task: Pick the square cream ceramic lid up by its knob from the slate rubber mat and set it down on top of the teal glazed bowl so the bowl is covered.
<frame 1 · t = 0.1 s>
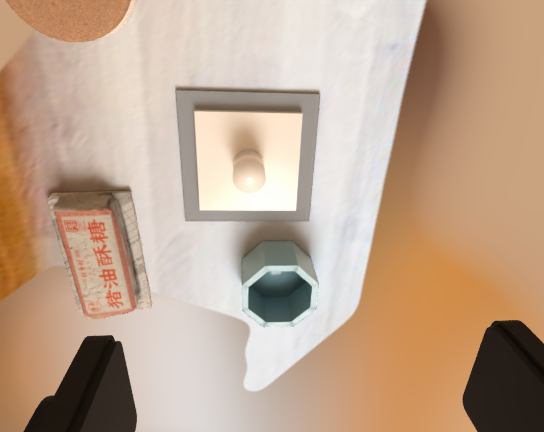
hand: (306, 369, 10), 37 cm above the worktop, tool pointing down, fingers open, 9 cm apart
bowl: (276, 270, 52), on the worktop
mat: (248, 160, 45), on the worktop
lid: (248, 161, 45), resting on mat
packaged product: (106, 250, 50), on the worktop
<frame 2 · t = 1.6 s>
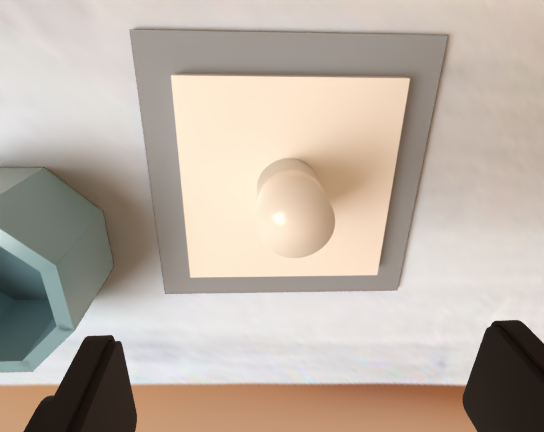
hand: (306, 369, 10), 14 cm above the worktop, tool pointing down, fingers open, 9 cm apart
bowl: (30, 240, 23), on the worktop
mat: (286, 180, 22), on the worktop
lid: (286, 182, 22), resting on mat
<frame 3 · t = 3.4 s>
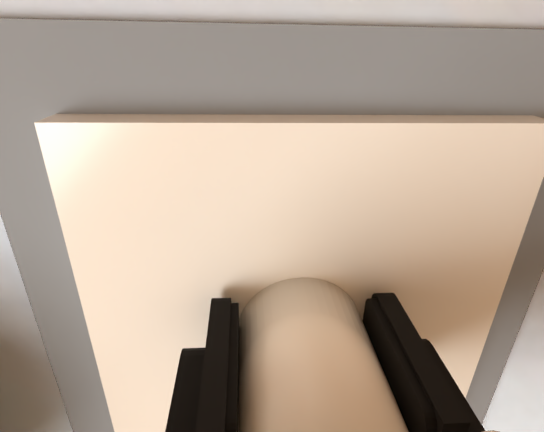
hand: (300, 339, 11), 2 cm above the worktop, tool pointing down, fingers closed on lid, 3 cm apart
mat: (293, 297, 12), on the worktop
lid: (294, 305, 12), resting on mat, touching gripper
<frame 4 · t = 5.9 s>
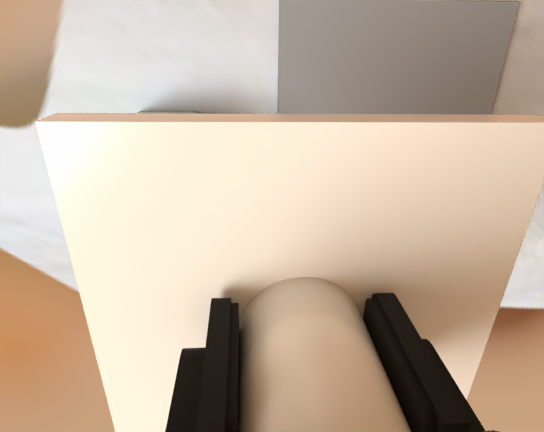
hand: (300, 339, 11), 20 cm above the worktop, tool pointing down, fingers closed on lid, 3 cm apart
mat: (382, 122, 28), on the worktop
lid: (295, 305, 12), point 19 cm above the worktop, touching gripper
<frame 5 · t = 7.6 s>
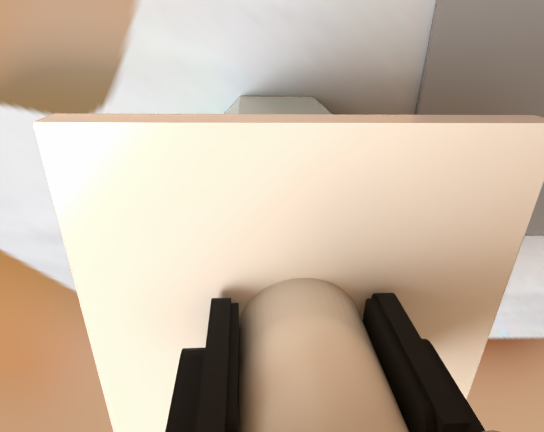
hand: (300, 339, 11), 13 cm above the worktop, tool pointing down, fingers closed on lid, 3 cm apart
bowl: (275, 178, 22), on the worktop
lid: (294, 306, 12), point 12 cm above the worktop, touching gripper
when the fingers open (9 cm above the worktop, at t = 8.7 s): lid drops 1 cm, resting on bowl.
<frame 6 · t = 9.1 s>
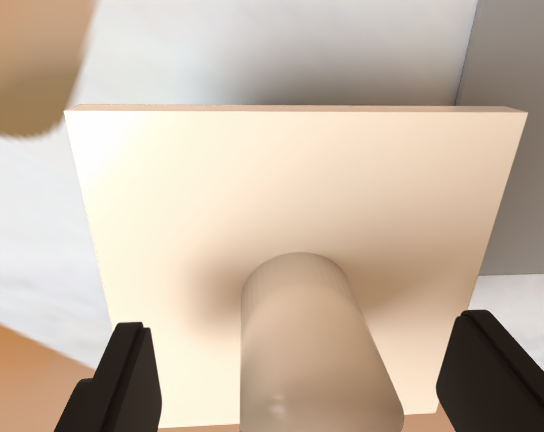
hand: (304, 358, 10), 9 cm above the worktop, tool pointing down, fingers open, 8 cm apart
lid: (292, 281, 13), point 6 cm above the worktop, touching bowl
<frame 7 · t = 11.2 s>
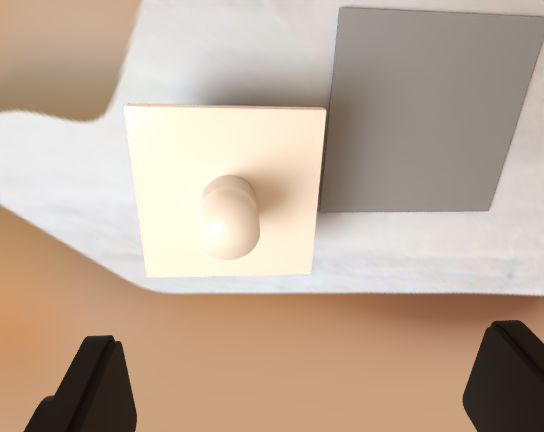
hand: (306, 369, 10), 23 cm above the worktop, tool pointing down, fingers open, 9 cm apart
mat: (422, 122, 31), on the worktop
lid: (229, 194, 26), point 6 cm above the worktop, touching bowl
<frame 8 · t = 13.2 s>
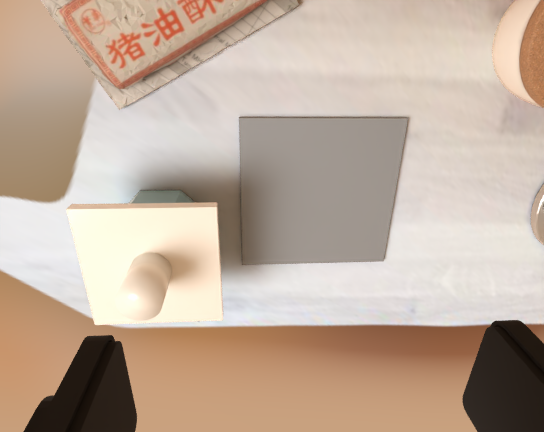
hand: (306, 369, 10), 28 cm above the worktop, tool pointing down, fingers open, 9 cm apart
lidded jar: (526, 38, 33), on the worktop
bowl: (165, 232, 39), on the worktop
mat: (318, 195, 38), on the worktop
lid: (154, 263, 34), point 6 cm above the worktop, touching bowl
packaged product: (175, 1, 31), on the worktop
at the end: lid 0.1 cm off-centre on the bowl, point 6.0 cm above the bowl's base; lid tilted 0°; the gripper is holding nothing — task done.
